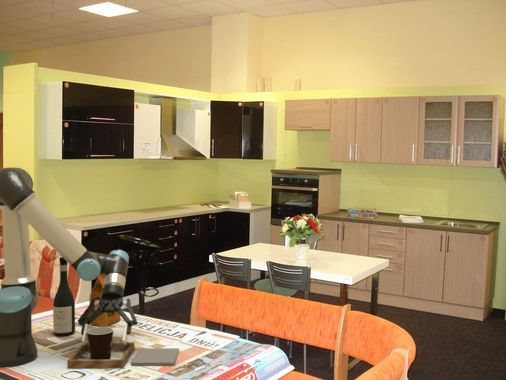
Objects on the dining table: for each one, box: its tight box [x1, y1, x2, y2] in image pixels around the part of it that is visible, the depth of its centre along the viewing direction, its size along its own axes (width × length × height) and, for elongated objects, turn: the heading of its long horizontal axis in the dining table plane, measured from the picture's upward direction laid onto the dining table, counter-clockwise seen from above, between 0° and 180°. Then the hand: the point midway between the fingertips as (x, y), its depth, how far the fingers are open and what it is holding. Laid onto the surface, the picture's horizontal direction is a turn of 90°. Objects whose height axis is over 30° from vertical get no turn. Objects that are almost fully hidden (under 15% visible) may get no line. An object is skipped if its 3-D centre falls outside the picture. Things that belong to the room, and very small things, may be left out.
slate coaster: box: [130, 347, 180, 367], centre depth 183 cm, size 14×14×1 cm
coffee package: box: [88, 274, 121, 327], centre depth 225 cm, size 10×12×22 cm
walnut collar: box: [66, 342, 136, 369], centre depth 183 cm, size 18×18×2 cm
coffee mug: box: [87, 326, 114, 360], centre depth 183 cm, size 12×9×10 cm
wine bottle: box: [52, 256, 76, 337], centre depth 210 cm, size 8×8×30 cm
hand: (104, 343), depth 182 cm, fingers open, 13 cm apart
